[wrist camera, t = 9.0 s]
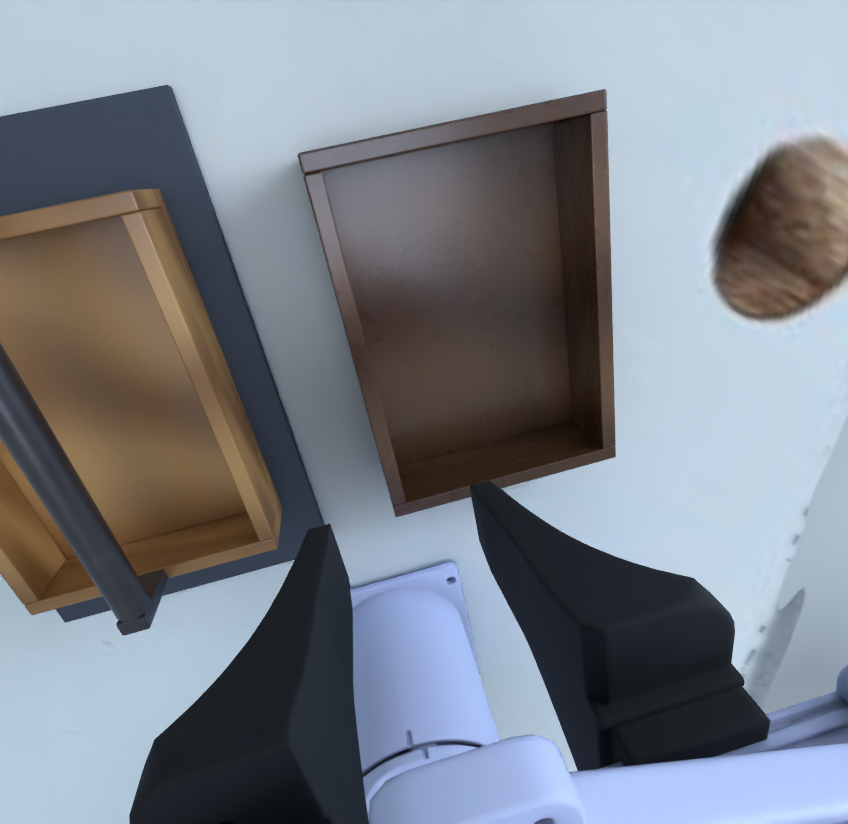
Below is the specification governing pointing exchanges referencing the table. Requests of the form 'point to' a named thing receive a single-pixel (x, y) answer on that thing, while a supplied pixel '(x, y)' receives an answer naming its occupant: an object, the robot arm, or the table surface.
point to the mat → (205, 252)
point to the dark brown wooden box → (476, 293)
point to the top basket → (117, 414)
